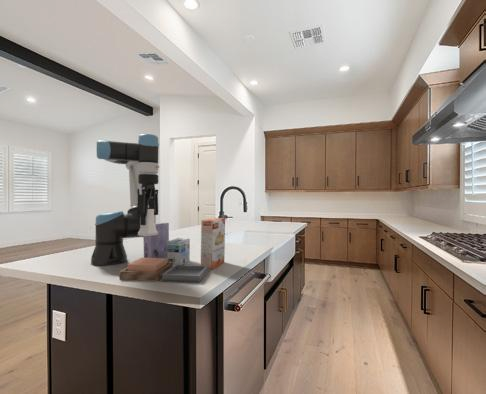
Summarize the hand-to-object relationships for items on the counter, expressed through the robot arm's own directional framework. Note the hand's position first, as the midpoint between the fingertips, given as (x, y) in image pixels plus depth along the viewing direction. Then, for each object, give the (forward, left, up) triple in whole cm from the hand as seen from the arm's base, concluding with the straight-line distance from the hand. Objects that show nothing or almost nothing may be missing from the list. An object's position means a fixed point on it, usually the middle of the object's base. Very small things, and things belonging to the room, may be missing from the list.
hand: (148, 232), depth 106 cm
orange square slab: (0, 0, -14) cm, 14 cm away
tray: (+16, -1, -17) cm, 23 cm away
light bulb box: (+6, +19, -17) cm, 26 cm away
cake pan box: (-5, +21, -17) cm, 27 cm away
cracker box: (+23, +16, -17) cm, 33 cm away
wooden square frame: (0, 0, -17) cm, 17 cm away
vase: (0, 0, -1) cm, 1 cm away
